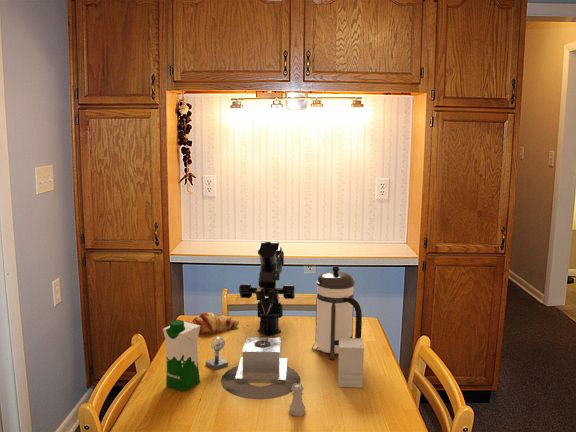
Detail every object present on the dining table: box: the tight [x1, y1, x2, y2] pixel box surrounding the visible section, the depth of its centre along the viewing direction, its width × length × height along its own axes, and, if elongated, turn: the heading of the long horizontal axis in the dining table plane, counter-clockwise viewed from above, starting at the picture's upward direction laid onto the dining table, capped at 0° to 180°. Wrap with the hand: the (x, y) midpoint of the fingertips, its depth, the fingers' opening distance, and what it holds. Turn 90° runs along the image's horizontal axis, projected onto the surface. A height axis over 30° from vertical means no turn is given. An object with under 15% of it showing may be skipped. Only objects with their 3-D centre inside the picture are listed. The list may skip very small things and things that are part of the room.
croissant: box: [187, 312, 240, 334], centre depth 206 cm, size 21×10×8 cm, turn 106°
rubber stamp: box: [205, 336, 229, 371], centre depth 176 cm, size 5×5×10 cm
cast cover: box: [235, 336, 288, 383], centre depth 171 cm, size 15×15×9 cm
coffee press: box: [311, 265, 363, 361], centre depth 185 cm, size 17×16×30 cm
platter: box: [220, 365, 301, 400], centre depth 167 cm, size 24×24×1 cm
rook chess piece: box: [288, 382, 306, 417], centre depth 148 cm, size 4×4×8 cm
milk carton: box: [162, 319, 201, 393], centre depth 162 cm, size 9×9×20 cm
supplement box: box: [337, 337, 365, 389], centre depth 165 cm, size 7×7×13 cm
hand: (265, 314), depth 184 cm, fingers closed
